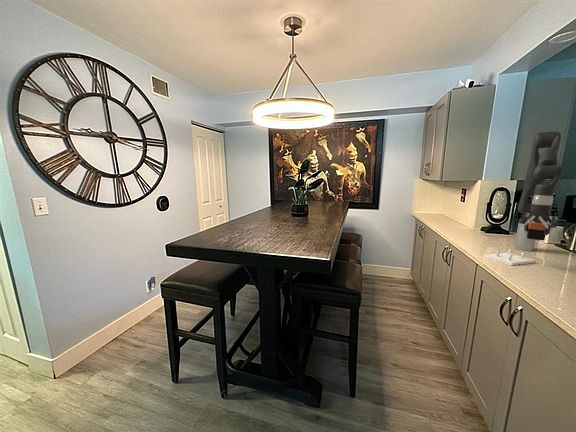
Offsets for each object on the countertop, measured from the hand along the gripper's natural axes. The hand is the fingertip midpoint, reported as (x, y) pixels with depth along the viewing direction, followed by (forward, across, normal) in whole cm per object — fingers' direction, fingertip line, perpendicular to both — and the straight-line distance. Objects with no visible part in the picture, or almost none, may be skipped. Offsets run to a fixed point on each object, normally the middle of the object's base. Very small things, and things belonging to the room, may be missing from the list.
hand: (536, 233), depth 132 cm
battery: (+4, 0, 0) cm, 4 cm away
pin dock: (+18, +8, +4) cm, 20 cm away
